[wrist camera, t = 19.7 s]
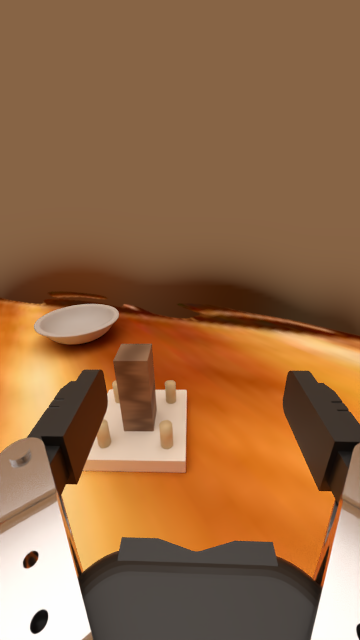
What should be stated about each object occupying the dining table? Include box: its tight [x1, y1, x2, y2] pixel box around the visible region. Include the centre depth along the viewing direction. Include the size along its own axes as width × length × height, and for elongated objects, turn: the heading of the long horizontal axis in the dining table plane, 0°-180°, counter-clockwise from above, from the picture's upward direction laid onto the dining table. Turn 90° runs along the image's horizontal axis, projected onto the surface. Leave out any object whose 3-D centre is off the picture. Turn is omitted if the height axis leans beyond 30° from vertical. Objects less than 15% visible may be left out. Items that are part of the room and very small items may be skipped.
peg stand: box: [83, 380, 187, 473], centre depth 45 cm, size 16×16×6 cm
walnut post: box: [113, 344, 157, 431], centre depth 43 cm, size 5×5×14 cm
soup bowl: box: [34, 304, 119, 344], centre depth 79 cm, size 24×24×7 cm
